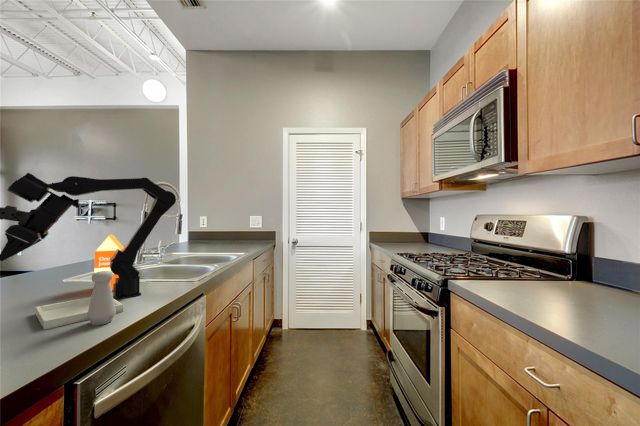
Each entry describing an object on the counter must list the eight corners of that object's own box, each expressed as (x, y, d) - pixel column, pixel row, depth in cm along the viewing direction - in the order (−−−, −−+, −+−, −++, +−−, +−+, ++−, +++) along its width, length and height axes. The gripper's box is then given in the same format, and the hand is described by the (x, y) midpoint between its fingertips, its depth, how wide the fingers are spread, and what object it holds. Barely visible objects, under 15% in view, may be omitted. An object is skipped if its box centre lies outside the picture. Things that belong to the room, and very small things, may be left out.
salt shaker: (92, 328, 67) (92, 275, 67) (83, 323, 70) (83, 272, 70) (120, 320, 72) (120, 271, 72) (110, 316, 75) (110, 268, 75)
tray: (106, 300, 88) (106, 294, 88) (123, 311, 78) (123, 304, 78) (35, 314, 76) (35, 306, 76) (44, 329, 66) (44, 321, 66)
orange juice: (93, 292, 97) (94, 236, 97) (99, 286, 105) (99, 234, 105) (120, 289, 101) (121, 235, 101) (124, 284, 109) (124, 233, 109)
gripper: (24, 197, 85) (-21, 240, 79) (7, 193, 70) (-49, 246, 65) (64, 217, 90) (25, 258, 85) (57, 218, 76) (9, 268, 70)
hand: (4, 258), depth 76 cm, fingers open, 9 cm apart
